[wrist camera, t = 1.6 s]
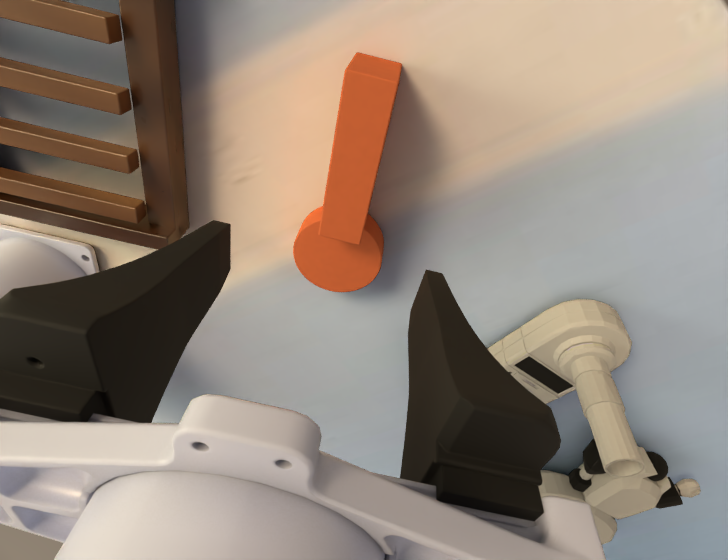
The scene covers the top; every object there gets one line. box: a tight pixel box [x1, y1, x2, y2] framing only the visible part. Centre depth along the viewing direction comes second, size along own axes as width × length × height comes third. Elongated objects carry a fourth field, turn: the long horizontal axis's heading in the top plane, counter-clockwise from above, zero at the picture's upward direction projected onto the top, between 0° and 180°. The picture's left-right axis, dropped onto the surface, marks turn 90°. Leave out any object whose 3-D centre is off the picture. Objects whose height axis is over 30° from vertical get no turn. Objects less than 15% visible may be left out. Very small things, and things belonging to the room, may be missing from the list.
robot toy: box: [539, 439, 701, 544], centre depth 37 cm, size 12×4×15 cm
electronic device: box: [487, 299, 645, 477], centre depth 27 cm, size 5×10×15 cm
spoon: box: [293, 53, 402, 292], centre depth 22 cm, size 13×5×4 cm, turn 168°
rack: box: [0, 0, 189, 250], centre depth 20 cm, size 16×13×3 cm
